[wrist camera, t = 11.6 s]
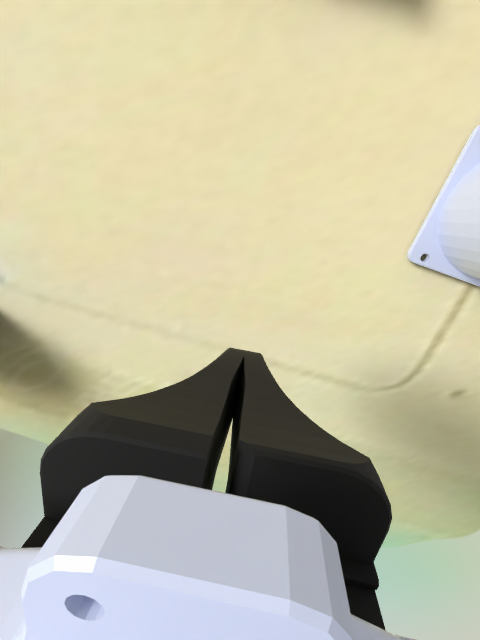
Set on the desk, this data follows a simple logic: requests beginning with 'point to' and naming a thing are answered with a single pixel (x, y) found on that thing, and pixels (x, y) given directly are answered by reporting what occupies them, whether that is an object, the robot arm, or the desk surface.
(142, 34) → the desk surface
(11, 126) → the desk surface
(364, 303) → the desk surface
